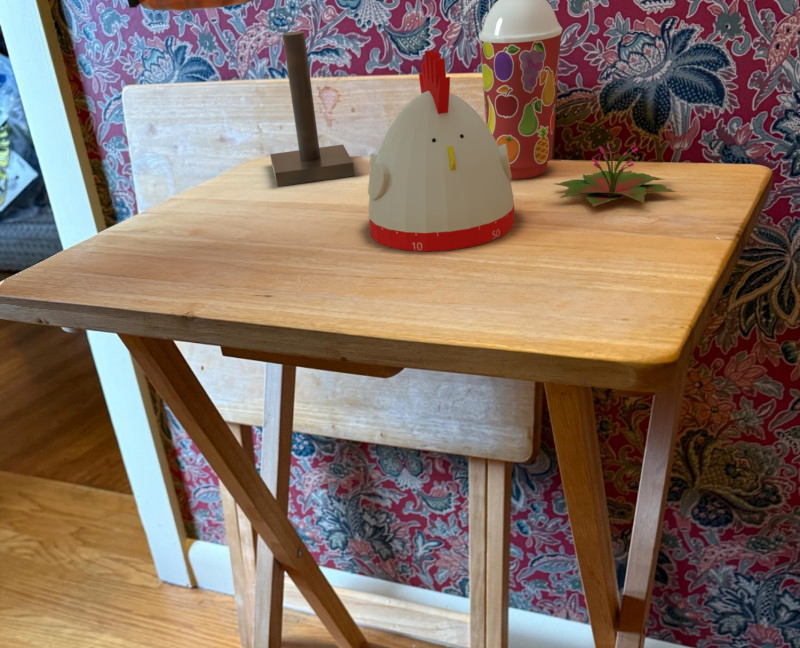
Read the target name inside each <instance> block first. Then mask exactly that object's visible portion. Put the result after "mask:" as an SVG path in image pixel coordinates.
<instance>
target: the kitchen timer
mask: <svg viewBox="0 0 800 648" xmlns="http://www.w3.org/2000/svg"><path fill="white" fill-rule="evenodd" d="M440 56H441V55H440V52H436V49H428V50H424V61H422V62H421V73H418V79H419V80H418V81H419V87H420V88H419V89H420V94H419V95H417V96H415V97H414V98H413V99H412V100H410V101H409V102H408V103H407V104H406V105H405V106H404V108H403V109H402V110H401V111H399V113H398V114H397V115H396V117H395V118H394V119H393V121H392V123H390V126H389V128H388V130H387V131H386V133H385V135H384V137H383V139H382V141H381V144H380V146H379V149H378V152H377V154H375V153H370V158H369V159H370V160H369V171H368V172H369V173H368V174H369V175H368V176H369V177H368V189H367V190H368V191H367V192H368V193H367V194H368V218H369V227H370V229H369V230H370V237H371V238H372V239H373V240H374V241H375V242H377V243H378V244H381V245H383V246H386V247H388V248H391V249H392V248H393V249H398V250H403V251H415V252H440V251H441V252H443V251H453V250H459V249H466V248H471V247H475V246H479V245H482V244H486V243H489V242H492V241H495V240H497V239H498V238H500V237H503V236H505V235H506V234H507V233H508V232H509V231H511V230H512V229H513V226H514V223H515V199H514V192H513V186H512V183H511V180H512V179H511V178H512V176H511V170H510V165H509V159H508V153H507V146H506V144H503V145H501V146H498V144H497V142H496V140H495V138H494V137H493V135H492V133H491V131H490V130H489V128H488V127H487V125H486V121H484V120H483V117H481V115H480V114H479V113H478V112H477V111H476V110H475V109H474V107H472V106H471V104H469V103H468V102H466V101H465V100H463V98H461V97H459V96H457V95H456V94H454V93H451V92H450V91H451V77H450V76H447V70H446V58H445V57H440Z"/></svg>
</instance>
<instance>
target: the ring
mask: <svg viewBox="0 0 800 648" xmlns="http://www.w3.org/2000/svg"><path fill="white" fill-rule="evenodd" d="M254 1H255V0H138V2H139V5H140V6H141V7H143V8H144V9H146V10H149V11H151V10H152V11H159V12H160V11H161V12H180V11H182V12H183V11H196V10H197V11H198V10H207V9H208V10H209V9H217V8H218V9H219V8H226V7H231V6H238V5H244V4H247V3H251V2H254Z"/></svg>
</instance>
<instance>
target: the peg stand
mask: <svg viewBox="0 0 800 648" xmlns="http://www.w3.org/2000/svg"><path fill="white" fill-rule="evenodd" d="M282 41H283V42H282V43H283V47H284V55H285V56H284V57H285V61H286V68H287V76H288V84H289V89H290V97H291V105H292V109H293V110H292V112H293V118H294V126H295V132H296V139H297V146H298V147H297V148H298V149H297V150H291V151H283V152H277V153H270V154H269V157H270V162H271V169H272V172H273V175H274V180H275V183H276V187H285V186H291V185H299V184H306V183H314V182H321V181H327V180H335V179H341V178H348V177H355V176H356V175H355V165H354V162H353V160H352V158H351V156H350V154H349V152H348V150H347V149H346V148H345V146H344V144H336V145H328V146H320V142H319V134H318V126H317V119H316V118H317V117H316V112H315V104H314V97H313V96H314V95H313V89H312V81H311V80H312V79H311V73H310V65H309V57H308V49H307V42H306V35H305V31H302V30H298V31H297V30H296V31H287V32H284V33H282Z"/></svg>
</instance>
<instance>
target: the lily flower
mask: <svg viewBox="0 0 800 648" xmlns="http://www.w3.org/2000/svg"><path fill="white" fill-rule="evenodd" d="M622 144H623V141H621V142H620V144H619V148H618V151H617V155H616V158H615V163H613V161H614V160H613V153H612V151H611V148H610V145H609V143H606V145H607V149H608V151H609V156H608V154H607V153H606V152H605V149H604V148H603V147H602V146H598V149H599V151H600V153H601V154H602V155H603V159H604V161H605V163H606V166H607V167H606V168H607V170H604V169H603V168H602V166H601V164H600V163H599V161H598V160H597V159H595V157H594V158H592V159H591V160H592V162H593V167H595V168H598V169H599V172H598V171H597V172H595V173H591V174H584V173H583V174H582V178H583V179H569V180H565V181H562V182H560V183H558V182H557V183H554V185H557V186H560V187H566V188H567V190H566V191H565V192H564V194H563V195H561V196H560V197H559V199H562V198H566V197H570V196H575V195H579V194H583V193H585V194H586V195H585V197H584V198H586V200H587V201H588V202H589V203H590V204H591V205H592V207H596V206H599V205H603V204H604V203H607V202H611V201H614V200H615V201H616V200H619V199H621V198H624V196H626V197H628V198H631V199H632V200H635V201H638V202H640V203H642V204H645V198H646V197H645V195H646V194H652V193H677V192H678V191H676V190H673V189H671V188H669V187H667V186H665V185H664V184H659V183H650V182H653V181H662V180H664V178H661V177H657V176H654V175H653V176H651V174H647V173H644V172H639V173H637V172H635V171H632V170H631V169H630V170H626V169H627V168H630V167H633V166H634V165H635V163H634V162H633V158H631V159H628V160H627V161H626V163H625V164H624V165H622V166H621V167H620V165H621V164H622V163H623V162H624V161H625V160H626V159H627V158H628V157H629V156H630V155H631V154H633V153H635V152H636V151H637V152H638V151H639V148H638V147H637V148H635V147H636V146H637V144H636V143H634V144H632V145H631V146H630V147H629V148H628V150H627V151H626V152H623V154H622V155H621V156H620V157H618V156H619V152H620V148H621V147H622ZM633 148H634V149H633ZM630 150H631V151H630ZM617 159H618V160H617ZM619 167H620V169H619ZM625 170H626V171H625Z"/></svg>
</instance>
